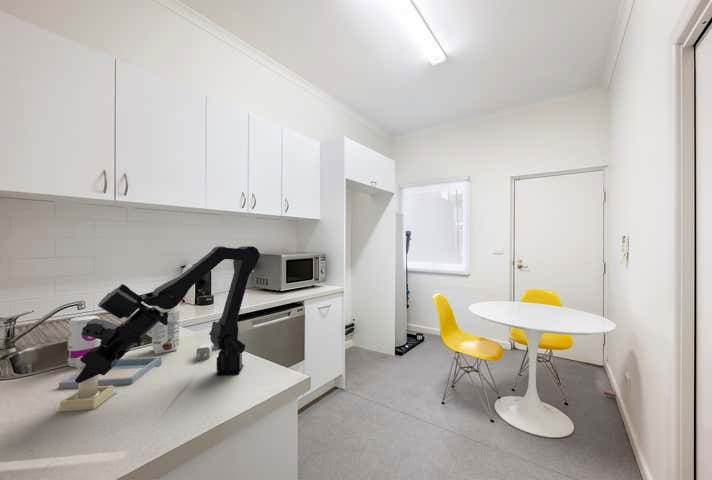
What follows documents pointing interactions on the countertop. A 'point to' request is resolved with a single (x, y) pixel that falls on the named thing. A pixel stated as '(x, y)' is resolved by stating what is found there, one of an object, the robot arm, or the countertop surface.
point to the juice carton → (166, 332)
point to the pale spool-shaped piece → (86, 384)
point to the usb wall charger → (204, 351)
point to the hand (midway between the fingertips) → (81, 378)
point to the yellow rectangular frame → (86, 400)
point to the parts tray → (126, 363)
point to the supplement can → (79, 339)
